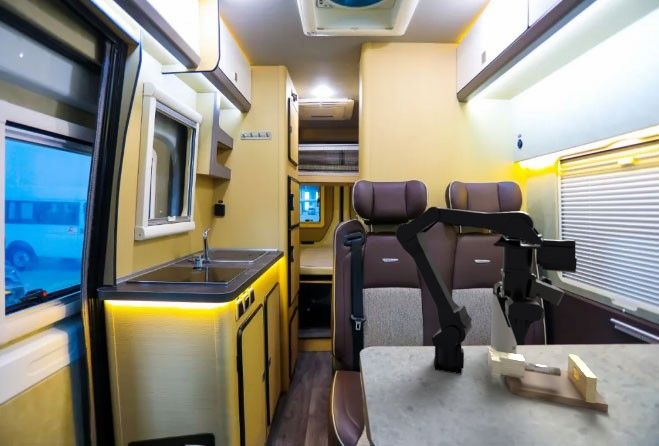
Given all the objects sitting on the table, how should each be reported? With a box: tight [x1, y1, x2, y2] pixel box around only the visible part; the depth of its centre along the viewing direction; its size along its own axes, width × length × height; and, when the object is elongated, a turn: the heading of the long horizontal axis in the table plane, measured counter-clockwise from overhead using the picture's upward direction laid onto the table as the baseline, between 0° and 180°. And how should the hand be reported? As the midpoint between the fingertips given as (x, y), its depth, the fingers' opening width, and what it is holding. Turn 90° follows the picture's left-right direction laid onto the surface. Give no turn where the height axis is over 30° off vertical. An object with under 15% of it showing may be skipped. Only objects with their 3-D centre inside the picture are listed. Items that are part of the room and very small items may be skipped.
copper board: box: [504, 369, 609, 413], centre depth 70 cm, size 17×12×2 cm
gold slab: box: [567, 354, 598, 403], centre depth 66 cm, size 2×10×5 cm, turn 160°
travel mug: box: [490, 282, 518, 354], centre depth 85 cm, size 6×7×20 cm
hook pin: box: [487, 346, 561, 379], centre depth 70 cm, size 14×7×4 cm, turn 70°
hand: (514, 335), depth 69 cm, fingers open, 9 cm apart
